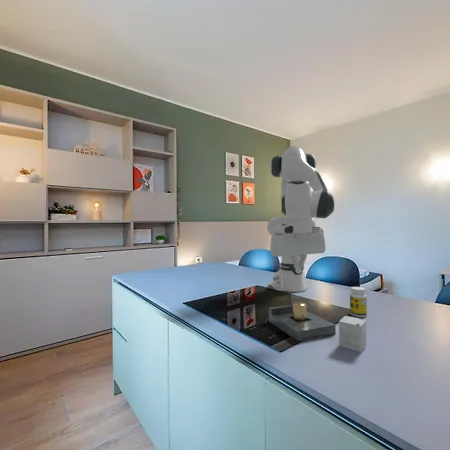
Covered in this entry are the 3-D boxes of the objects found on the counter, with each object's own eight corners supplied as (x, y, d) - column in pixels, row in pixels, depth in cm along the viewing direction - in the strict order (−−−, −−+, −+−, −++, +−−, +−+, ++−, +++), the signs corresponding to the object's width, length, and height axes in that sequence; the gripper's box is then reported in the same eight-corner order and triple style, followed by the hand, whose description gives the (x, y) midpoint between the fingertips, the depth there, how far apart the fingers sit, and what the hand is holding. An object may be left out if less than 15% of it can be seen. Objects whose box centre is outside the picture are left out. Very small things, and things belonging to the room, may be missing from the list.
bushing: (298, 330, 89) (297, 306, 89) (290, 326, 93) (290, 303, 93) (309, 328, 90) (309, 305, 90) (301, 324, 94) (301, 301, 94)
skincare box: (344, 339, 82) (344, 315, 82) (366, 344, 78) (366, 319, 78) (338, 346, 77) (338, 321, 77) (361, 352, 73) (361, 325, 73)
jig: (269, 321, 98) (268, 307, 98) (301, 316, 102) (301, 303, 102) (298, 341, 81) (298, 325, 81) (335, 334, 85) (335, 318, 85)
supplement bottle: (346, 313, 105) (346, 287, 105) (357, 311, 107) (357, 285, 107) (358, 318, 99) (358, 290, 99) (370, 316, 101) (370, 289, 101)
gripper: (317, 226, 98) (317, 264, 98) (267, 228, 91) (268, 268, 91) (329, 226, 92) (329, 266, 92) (277, 228, 85) (278, 272, 85)
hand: (298, 267), depth 92 cm, fingers closed
